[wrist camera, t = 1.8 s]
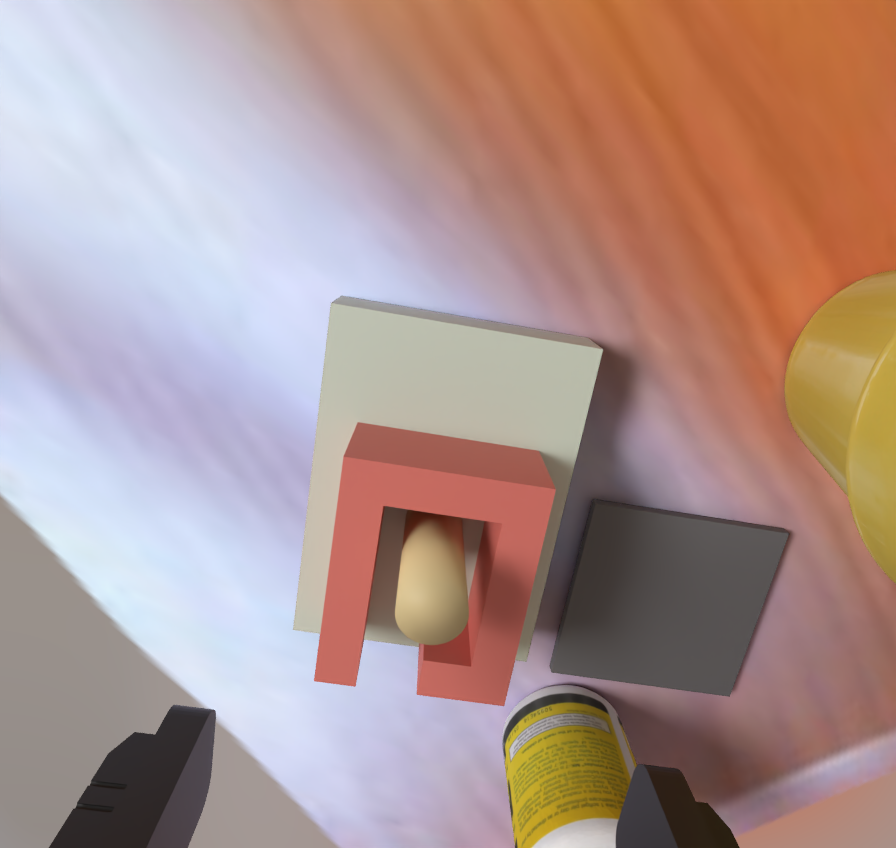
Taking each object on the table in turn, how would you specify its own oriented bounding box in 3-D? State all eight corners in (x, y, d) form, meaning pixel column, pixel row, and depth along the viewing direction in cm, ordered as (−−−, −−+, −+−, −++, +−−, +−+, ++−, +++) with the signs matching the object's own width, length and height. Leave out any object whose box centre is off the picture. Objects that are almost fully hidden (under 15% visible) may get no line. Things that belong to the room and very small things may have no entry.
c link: (357, 422, 19) (343, 456, 16) (538, 450, 20) (555, 489, 17) (330, 619, 21) (314, 680, 18) (495, 642, 22) (504, 706, 19)
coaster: (592, 499, 22) (595, 503, 22) (783, 528, 23) (789, 533, 22) (549, 665, 24) (551, 672, 24) (725, 689, 25) (729, 696, 24)
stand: (341, 295, 20) (292, 330, 13) (587, 337, 21) (659, 391, 14) (305, 596, 23) (250, 746, 17) (519, 626, 24) (550, 783, 17)
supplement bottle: (476, 726, 25) (494, 961, 17) (570, 659, 24) (636, 873, 16) (551, 796, 26) (601, 1048, 18) (644, 735, 25) (739, 970, 17)
